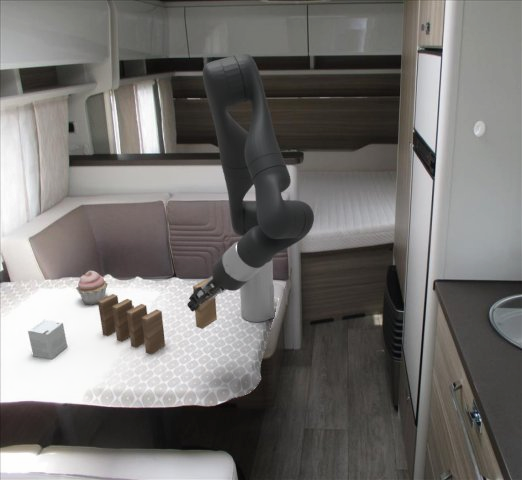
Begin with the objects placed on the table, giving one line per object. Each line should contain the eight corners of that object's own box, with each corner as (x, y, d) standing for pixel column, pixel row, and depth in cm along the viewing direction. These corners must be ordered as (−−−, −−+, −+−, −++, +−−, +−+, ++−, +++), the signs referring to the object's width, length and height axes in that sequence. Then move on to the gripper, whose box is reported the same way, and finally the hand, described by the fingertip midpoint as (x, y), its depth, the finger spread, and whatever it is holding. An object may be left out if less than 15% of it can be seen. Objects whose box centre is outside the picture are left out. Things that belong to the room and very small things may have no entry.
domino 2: (135, 333, 138) (131, 300, 134) (121, 342, 134) (116, 308, 131) (131, 331, 139) (127, 298, 135) (116, 340, 135) (112, 306, 132)
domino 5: (216, 319, 118) (214, 279, 114) (202, 329, 114) (199, 288, 110) (210, 317, 118) (208, 278, 115) (196, 326, 115) (193, 286, 111)
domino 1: (121, 328, 141) (117, 295, 137) (107, 336, 137) (102, 302, 134) (117, 326, 142) (112, 293, 138) (102, 334, 138) (97, 301, 134)
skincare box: (48, 343, 134) (43, 318, 132) (68, 347, 133) (63, 321, 130) (32, 356, 129) (26, 330, 126) (52, 359, 127) (47, 334, 125)
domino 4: (165, 345, 132) (161, 311, 128) (150, 354, 128) (146, 319, 125) (160, 343, 133) (156, 309, 129) (145, 352, 129) (141, 317, 126)
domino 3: (150, 339, 135) (146, 305, 131) (135, 348, 131) (131, 313, 128) (145, 337, 136) (141, 303, 132) (131, 346, 132) (126, 311, 129)
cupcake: (72, 305, 154) (66, 275, 151) (88, 292, 163) (84, 263, 159) (99, 308, 152) (95, 277, 148) (115, 294, 160) (111, 265, 157)
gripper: (248, 239, 111) (209, 278, 122) (205, 261, 100) (166, 301, 111) (269, 267, 110) (228, 303, 120) (228, 292, 99) (186, 330, 110)
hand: (198, 302), depth 115 cm, fingers closed on domino 5, 5 cm apart
